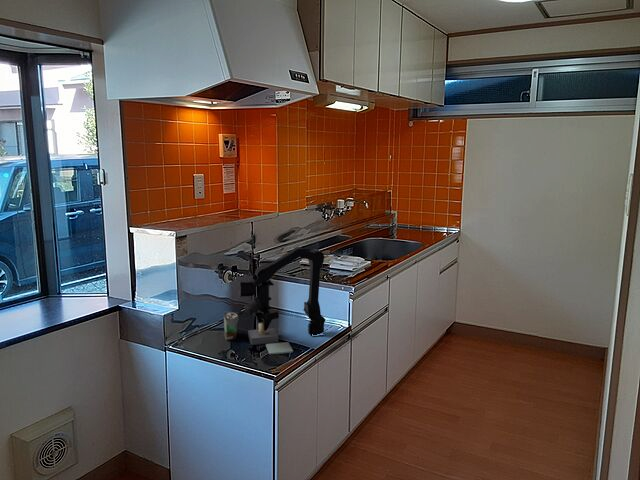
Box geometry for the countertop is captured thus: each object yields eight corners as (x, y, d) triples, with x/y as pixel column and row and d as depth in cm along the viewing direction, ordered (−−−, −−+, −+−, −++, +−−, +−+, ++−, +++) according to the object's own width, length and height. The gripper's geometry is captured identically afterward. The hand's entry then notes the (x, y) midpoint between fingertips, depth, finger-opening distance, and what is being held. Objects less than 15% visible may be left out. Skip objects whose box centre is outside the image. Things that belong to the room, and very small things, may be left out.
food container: (240, 340, 220) (240, 319, 219) (226, 342, 219) (226, 320, 217) (237, 331, 232) (236, 310, 230) (223, 332, 230) (223, 311, 228)
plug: (264, 336, 225) (264, 321, 224) (269, 339, 222) (269, 324, 220) (257, 338, 223) (256, 323, 221) (261, 340, 219) (261, 325, 218)
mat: (288, 343, 218) (288, 342, 218) (293, 352, 209) (293, 351, 209) (265, 345, 216) (265, 344, 215) (269, 354, 206) (269, 353, 206)
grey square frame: (274, 334, 228) (274, 328, 228) (278, 342, 219) (278, 336, 218) (248, 336, 225) (248, 330, 225) (251, 344, 216) (251, 338, 215)
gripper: (236, 292, 221) (237, 326, 224) (256, 303, 206) (256, 339, 209) (258, 289, 228) (259, 321, 230) (279, 299, 213) (279, 334, 216)
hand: (263, 328), depth 221 cm, fingers closed on plug, 4 cm apart
